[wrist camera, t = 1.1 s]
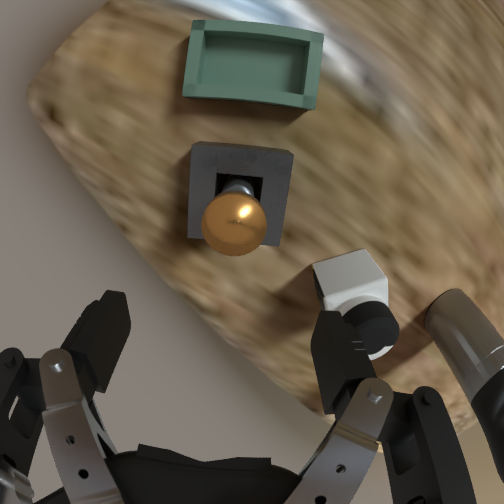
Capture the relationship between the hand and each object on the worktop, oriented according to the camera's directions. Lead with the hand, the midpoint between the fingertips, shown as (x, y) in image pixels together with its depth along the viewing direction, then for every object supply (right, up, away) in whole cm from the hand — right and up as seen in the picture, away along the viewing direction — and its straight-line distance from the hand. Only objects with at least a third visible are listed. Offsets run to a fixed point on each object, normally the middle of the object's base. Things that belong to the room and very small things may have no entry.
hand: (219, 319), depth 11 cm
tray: (+1, +21, +12) cm, 24 cm away
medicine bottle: (+13, -1, +23) cm, 27 cm away
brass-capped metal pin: (0, +10, +18) cm, 20 cm away
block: (0, +10, +18) cm, 20 cm away
